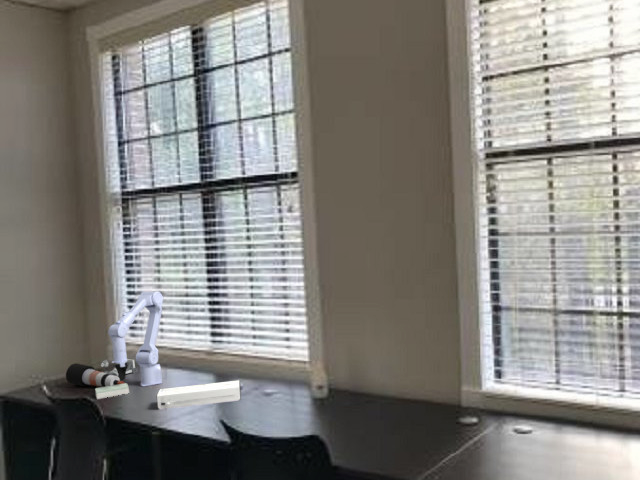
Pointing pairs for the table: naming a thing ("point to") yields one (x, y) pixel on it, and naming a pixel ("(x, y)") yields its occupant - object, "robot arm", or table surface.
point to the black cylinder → (90, 376)
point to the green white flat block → (112, 393)
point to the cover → (111, 388)
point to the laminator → (198, 394)
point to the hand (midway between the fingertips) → (122, 379)
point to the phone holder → (105, 364)
